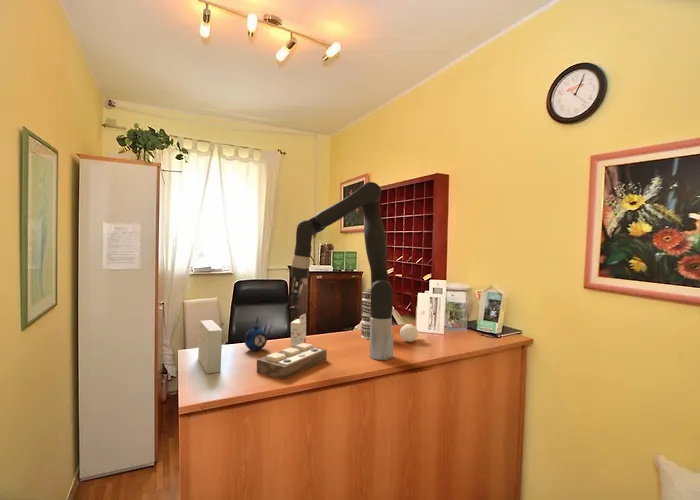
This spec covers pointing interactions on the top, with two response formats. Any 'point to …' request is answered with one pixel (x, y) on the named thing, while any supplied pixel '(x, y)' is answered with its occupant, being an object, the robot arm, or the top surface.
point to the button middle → (291, 352)
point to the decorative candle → (366, 313)
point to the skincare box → (210, 346)
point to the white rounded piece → (409, 332)
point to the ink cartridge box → (298, 331)
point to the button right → (303, 347)
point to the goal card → (299, 356)
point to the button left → (276, 357)
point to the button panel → (290, 365)
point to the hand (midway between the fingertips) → (295, 303)
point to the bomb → (255, 338)
